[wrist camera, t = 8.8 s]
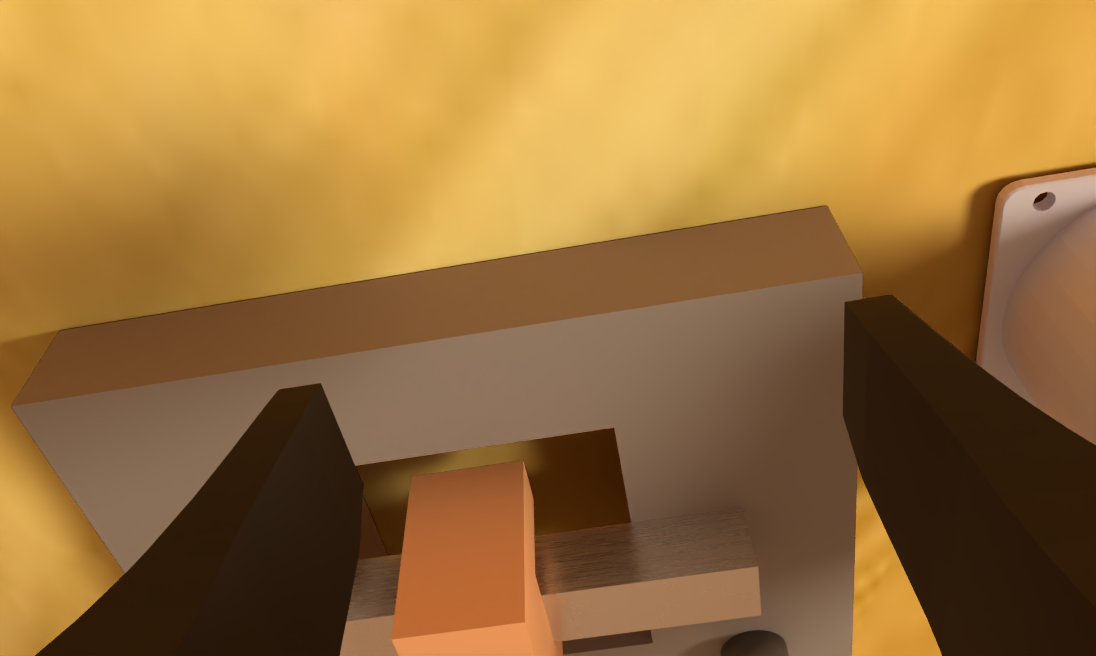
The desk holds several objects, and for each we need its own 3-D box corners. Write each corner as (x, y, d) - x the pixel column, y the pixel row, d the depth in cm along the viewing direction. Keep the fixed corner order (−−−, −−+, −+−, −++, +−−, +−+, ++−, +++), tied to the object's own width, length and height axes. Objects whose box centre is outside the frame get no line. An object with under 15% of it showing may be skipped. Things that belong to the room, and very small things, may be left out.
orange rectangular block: (523, 460, 25) (524, 622, 21) (560, 602, 28) (567, 764, 24) (411, 476, 25) (391, 639, 21) (462, 615, 29) (453, 777, 25)
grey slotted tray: (827, 205, 23) (891, 327, 19) (826, 606, 33) (869, 743, 29) (58, 331, 25) (-29, 466, 21) (269, 678, 34) (236, 817, 30)
